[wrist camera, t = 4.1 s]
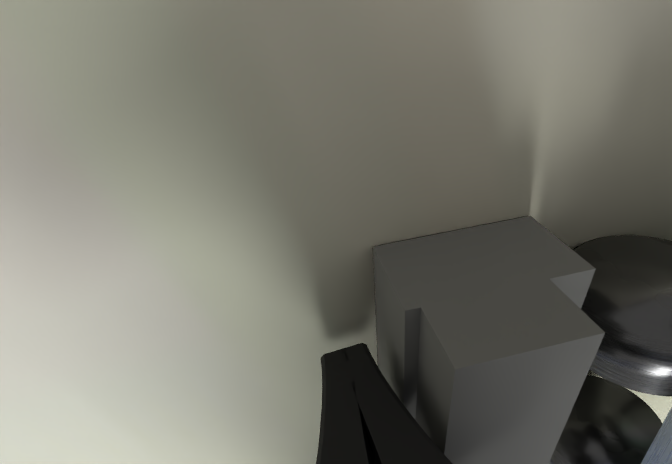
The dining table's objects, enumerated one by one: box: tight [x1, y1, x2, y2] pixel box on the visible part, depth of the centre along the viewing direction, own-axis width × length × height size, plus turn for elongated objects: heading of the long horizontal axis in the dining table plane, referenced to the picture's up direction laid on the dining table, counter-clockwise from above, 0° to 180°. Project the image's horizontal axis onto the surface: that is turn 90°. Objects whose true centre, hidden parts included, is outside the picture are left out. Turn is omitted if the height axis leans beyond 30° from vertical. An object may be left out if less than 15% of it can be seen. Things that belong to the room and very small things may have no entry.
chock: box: [373, 216, 605, 464], centre depth 10 cm, size 6×4×4 cm
